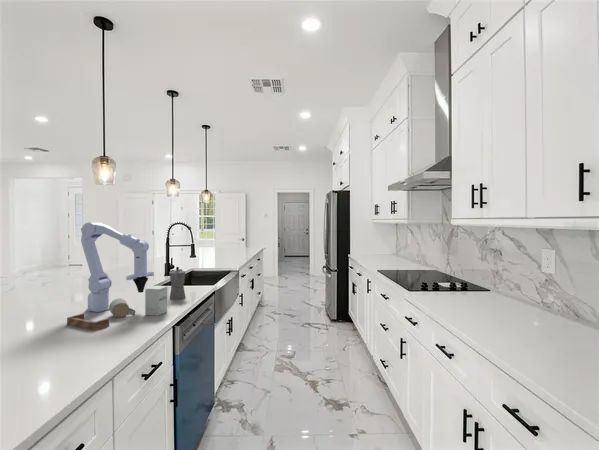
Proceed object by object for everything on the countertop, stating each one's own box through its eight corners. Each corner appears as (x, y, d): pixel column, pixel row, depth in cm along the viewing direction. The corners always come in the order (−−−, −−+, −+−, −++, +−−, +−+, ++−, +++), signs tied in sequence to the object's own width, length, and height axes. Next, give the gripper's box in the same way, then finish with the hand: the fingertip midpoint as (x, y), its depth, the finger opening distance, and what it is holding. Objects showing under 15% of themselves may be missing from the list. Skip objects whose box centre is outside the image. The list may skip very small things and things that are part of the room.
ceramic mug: (112, 319, 149) (112, 302, 149) (108, 315, 155) (109, 299, 155) (137, 315, 155) (137, 299, 155) (133, 312, 162) (133, 296, 162)
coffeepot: (190, 298, 190) (190, 267, 189) (174, 301, 183) (174, 269, 183) (178, 294, 201) (178, 264, 200) (163, 296, 194) (163, 266, 194)
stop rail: (67, 324, 141) (66, 317, 141) (82, 320, 147) (82, 313, 147) (94, 330, 134) (94, 323, 134) (109, 325, 140) (109, 318, 140)
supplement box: (158, 316, 155) (158, 289, 154) (144, 315, 156) (144, 288, 156) (167, 311, 162) (167, 286, 162) (154, 310, 163) (154, 285, 163)
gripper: (133, 267, 156) (133, 295, 156) (158, 263, 169) (158, 290, 170) (123, 266, 159) (123, 294, 159) (148, 263, 172) (148, 288, 173)
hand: (140, 292), depth 165 cm, fingers closed
